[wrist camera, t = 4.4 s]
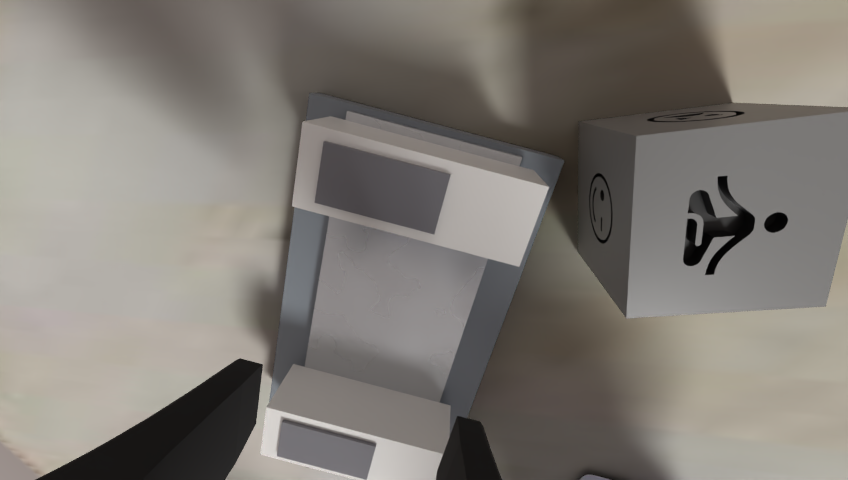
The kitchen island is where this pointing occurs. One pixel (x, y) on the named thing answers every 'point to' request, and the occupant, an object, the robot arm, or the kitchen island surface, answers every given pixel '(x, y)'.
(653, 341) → the kitchen island surface
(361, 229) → the board
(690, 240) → the dice cube
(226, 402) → the robot arm
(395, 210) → the mounted modules
